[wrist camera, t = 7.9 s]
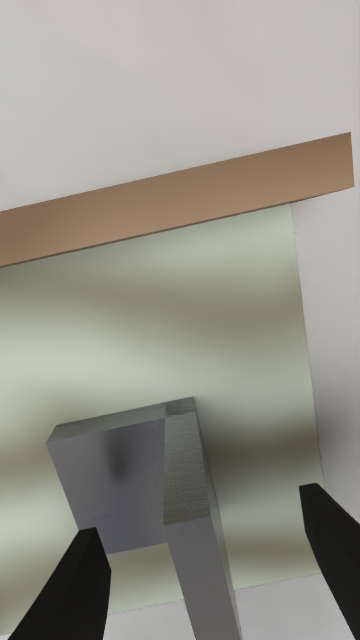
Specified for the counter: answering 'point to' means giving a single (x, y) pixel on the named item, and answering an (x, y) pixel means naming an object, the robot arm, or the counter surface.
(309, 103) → the counter surface
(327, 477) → the counter surface
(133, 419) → the bracket
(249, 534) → the arena
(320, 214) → the counter surface
